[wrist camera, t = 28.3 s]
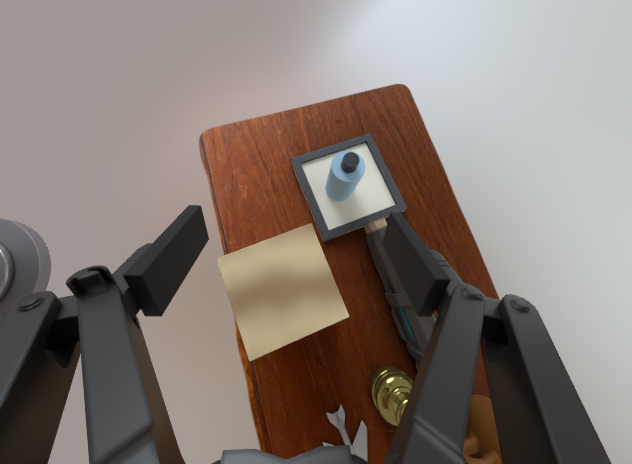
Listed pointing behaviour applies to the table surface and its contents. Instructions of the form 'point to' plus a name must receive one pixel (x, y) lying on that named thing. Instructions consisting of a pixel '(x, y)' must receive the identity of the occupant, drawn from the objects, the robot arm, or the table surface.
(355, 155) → the cleaner bottle
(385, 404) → the brass weight
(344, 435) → the toy airplane
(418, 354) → the tube
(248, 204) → the table surface
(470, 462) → the mug
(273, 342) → the stand
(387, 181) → the whiteboard
